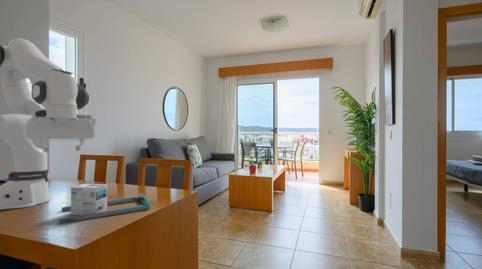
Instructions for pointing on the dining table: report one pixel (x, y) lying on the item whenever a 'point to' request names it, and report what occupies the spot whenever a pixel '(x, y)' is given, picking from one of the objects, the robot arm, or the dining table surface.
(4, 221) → the dining table surface
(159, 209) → the dining table surface
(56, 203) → the dining table surface
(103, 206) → the light bulb box
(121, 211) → the rail frame
